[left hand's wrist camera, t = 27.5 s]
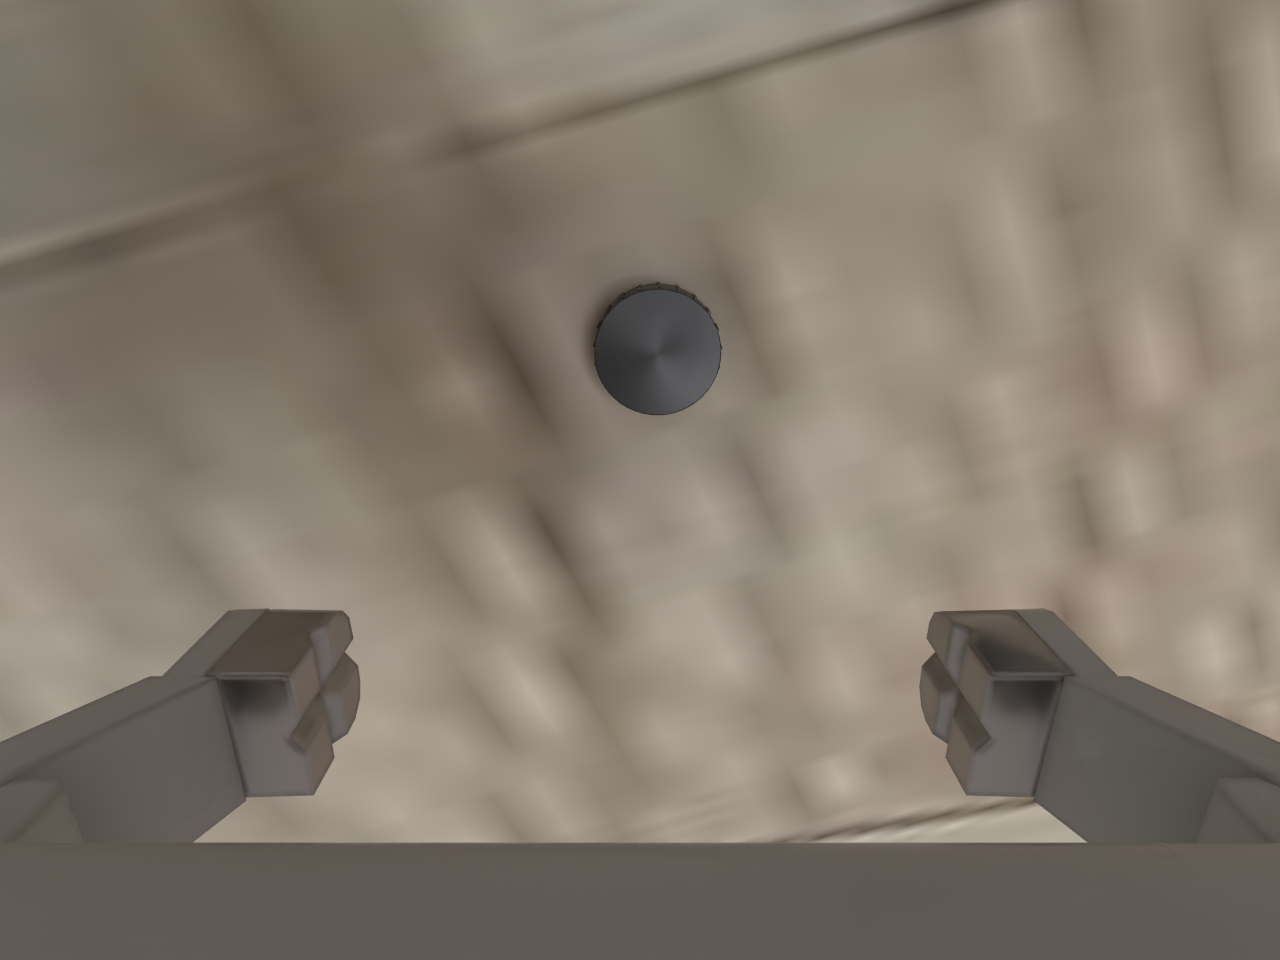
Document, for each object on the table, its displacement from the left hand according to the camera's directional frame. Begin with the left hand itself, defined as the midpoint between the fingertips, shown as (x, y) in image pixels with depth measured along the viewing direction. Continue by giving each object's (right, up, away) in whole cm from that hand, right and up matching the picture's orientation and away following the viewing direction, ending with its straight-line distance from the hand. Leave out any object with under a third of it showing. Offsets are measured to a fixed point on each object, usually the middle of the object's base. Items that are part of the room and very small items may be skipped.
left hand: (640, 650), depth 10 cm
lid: (+1, +8, +21) cm, 22 cm away
